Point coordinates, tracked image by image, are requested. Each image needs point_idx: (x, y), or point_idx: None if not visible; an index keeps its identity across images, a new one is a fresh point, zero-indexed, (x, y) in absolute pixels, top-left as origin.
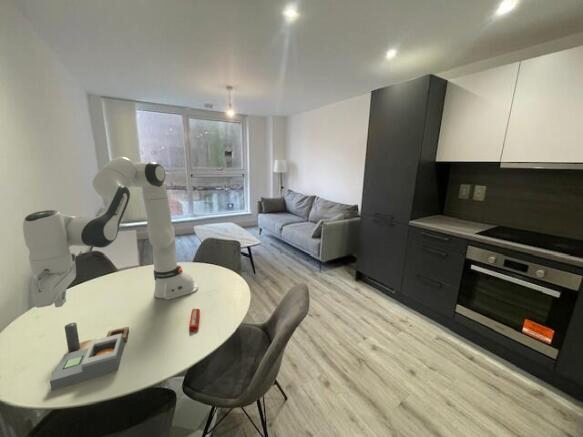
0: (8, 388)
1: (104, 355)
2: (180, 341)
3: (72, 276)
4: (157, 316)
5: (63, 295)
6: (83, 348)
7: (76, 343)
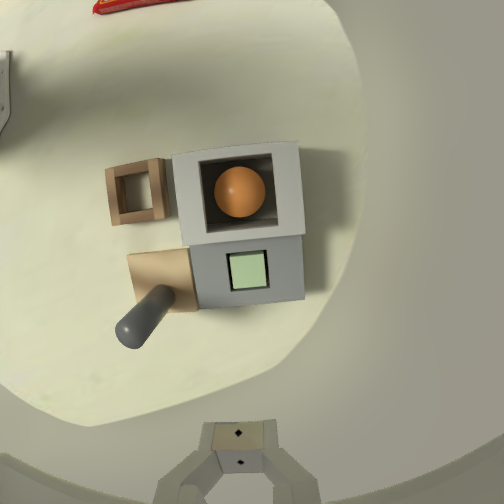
0: (255, 372)
1: (285, 176)
2: (225, 13)
3: (23, 497)
4: (69, 109)
5: (203, 468)
6: (163, 274)
7: (161, 295)
